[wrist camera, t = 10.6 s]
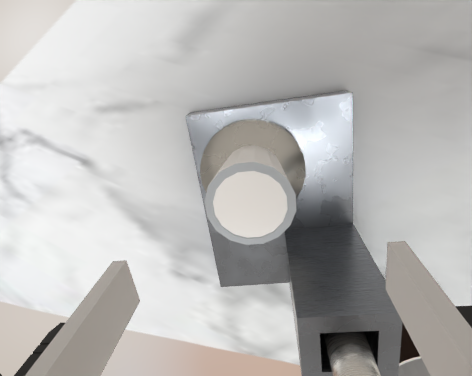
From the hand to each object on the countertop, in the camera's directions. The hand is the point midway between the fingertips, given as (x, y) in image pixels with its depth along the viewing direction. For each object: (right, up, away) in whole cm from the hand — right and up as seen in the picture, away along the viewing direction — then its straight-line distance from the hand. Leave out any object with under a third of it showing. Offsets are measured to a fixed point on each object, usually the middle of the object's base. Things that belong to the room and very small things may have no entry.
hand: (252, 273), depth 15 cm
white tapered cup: (+1, +6, +14) cm, 15 cm away
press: (+3, +3, +17) cm, 18 cm away
